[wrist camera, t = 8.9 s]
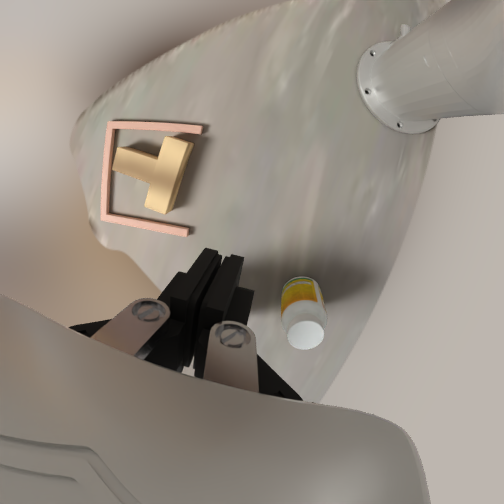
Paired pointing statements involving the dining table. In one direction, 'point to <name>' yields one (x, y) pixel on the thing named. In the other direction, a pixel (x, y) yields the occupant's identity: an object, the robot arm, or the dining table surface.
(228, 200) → the dining table surface
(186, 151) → the t block
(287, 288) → the supplement bottle
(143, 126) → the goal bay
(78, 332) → the robot arm
